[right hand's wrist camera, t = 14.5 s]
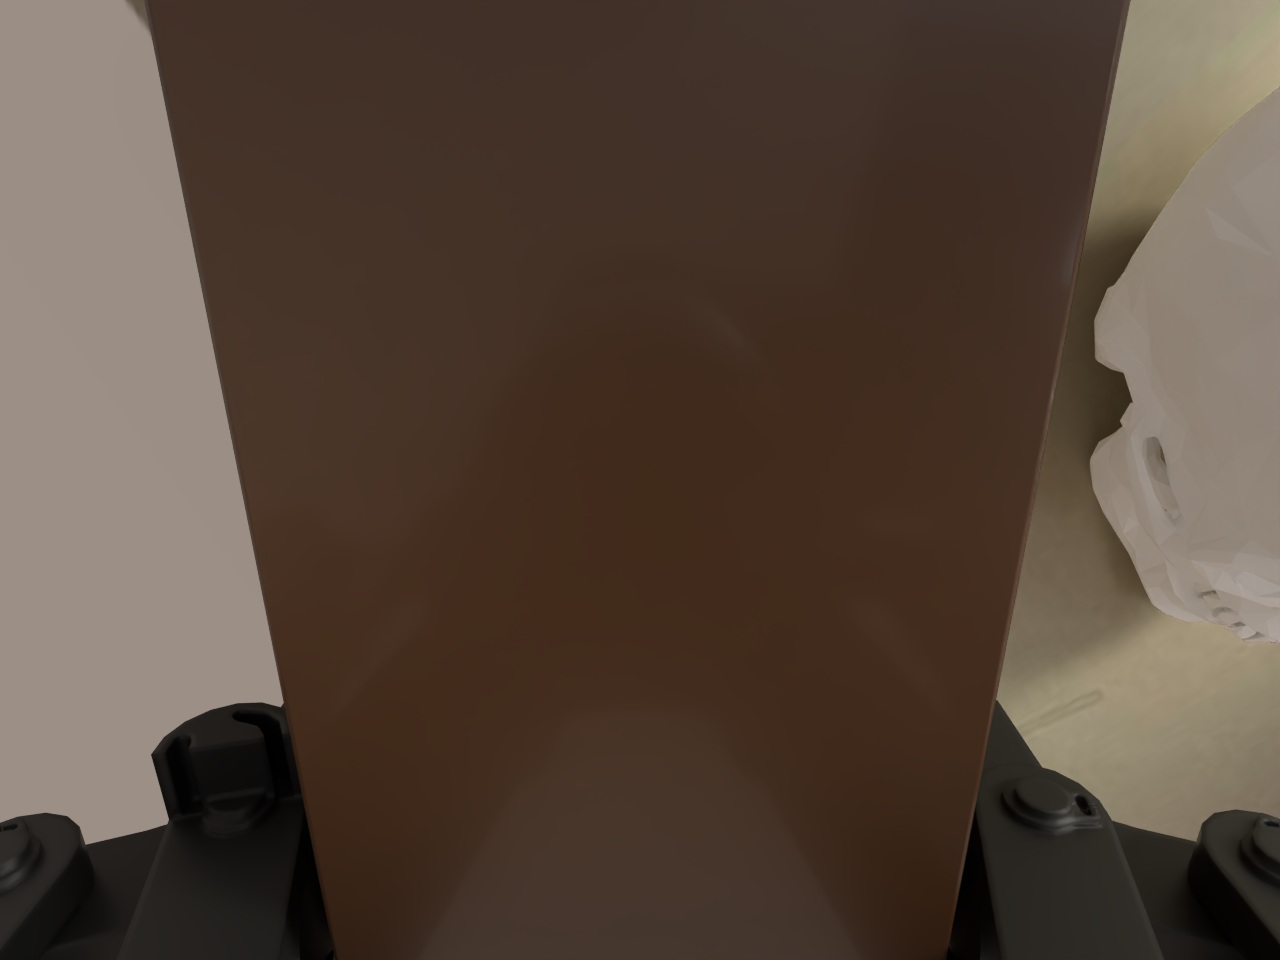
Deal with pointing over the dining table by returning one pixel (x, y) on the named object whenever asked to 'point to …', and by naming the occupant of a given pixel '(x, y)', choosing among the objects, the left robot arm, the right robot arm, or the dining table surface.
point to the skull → (1203, 390)
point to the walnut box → (638, 442)
